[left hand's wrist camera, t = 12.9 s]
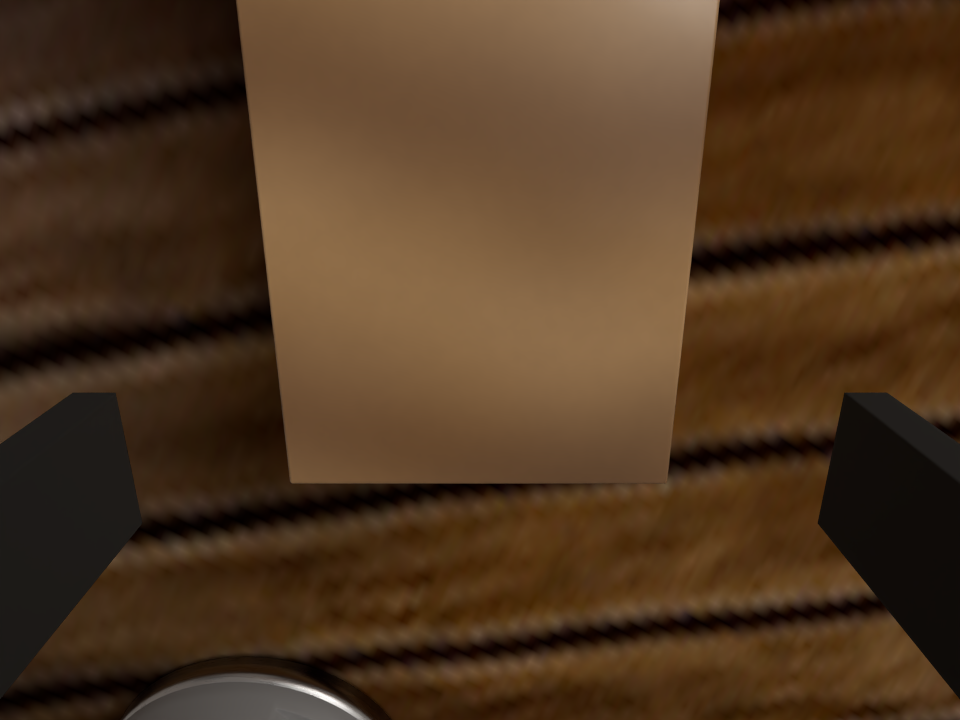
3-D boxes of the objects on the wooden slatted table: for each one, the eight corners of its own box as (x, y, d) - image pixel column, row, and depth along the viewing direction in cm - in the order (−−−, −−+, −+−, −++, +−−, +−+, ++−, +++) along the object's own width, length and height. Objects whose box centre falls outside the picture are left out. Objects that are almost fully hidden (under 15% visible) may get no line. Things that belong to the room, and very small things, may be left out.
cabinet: (305, -247, 20) (177, -507, 12) (650, -247, 20) (776, -508, 12) (350, 364, 27) (289, 484, 19) (607, 364, 27) (667, 484, 19)
